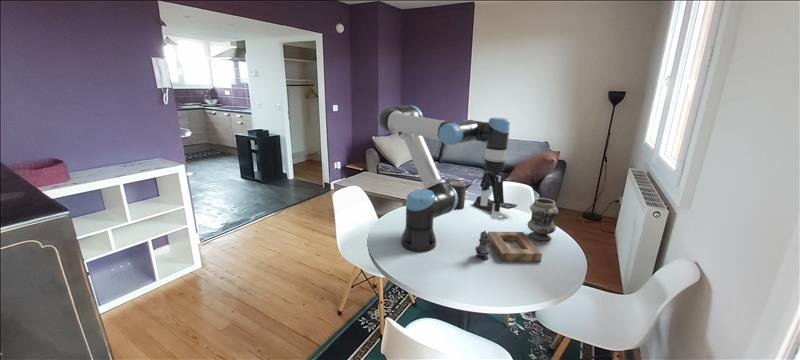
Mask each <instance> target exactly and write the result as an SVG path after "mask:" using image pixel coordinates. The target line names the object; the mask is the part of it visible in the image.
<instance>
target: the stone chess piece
mask: <svg viewBox="0 0 800 360" xmlns="http://www.w3.org/2000/svg"><path fill="white" fill-rule="evenodd" d="M478 241H479V243H478V245H477V246H476V247H475V253H476V254H475V255H474V256H475V259H477V260H478V261H483V262H484V261H488V260H489V256H488V255H489V254H490V252H491V249H490V248H489V247H488V243H489V240H488V232H487V231H486V230H483V231H482V232H480V236H479V240H478Z"/></svg>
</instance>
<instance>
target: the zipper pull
mask: <svg viewBox="0 0 800 360" xmlns="http://www.w3.org/2000/svg"><path fill="white" fill-rule="evenodd" d="M475 199H476V200H475V201H474V202H473V206H474V207H476V208H478V209H481V210H484V211H487V212H489V213H492V206H493V203H492V202H493V201H494V200H492V199H490V198H488V203H487V206H480V203H481V195H479V196H477V197H476V198H475ZM517 206H518V204H515V203H509V202H504V203H501V205H500V208H502V209H506V210H510V209H511V210H512V209H514V208H516V207H517Z"/></svg>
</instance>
